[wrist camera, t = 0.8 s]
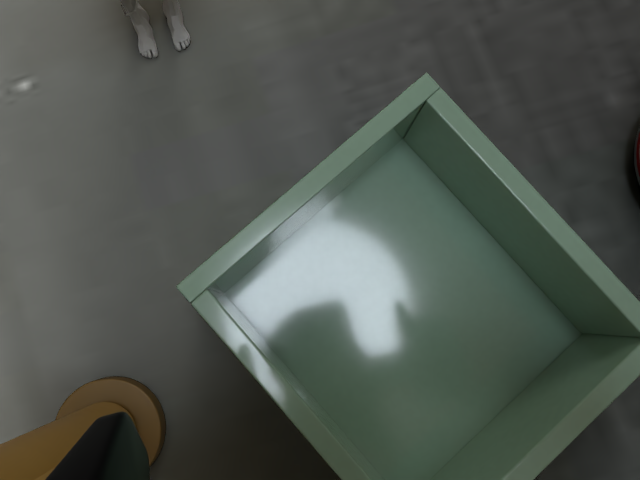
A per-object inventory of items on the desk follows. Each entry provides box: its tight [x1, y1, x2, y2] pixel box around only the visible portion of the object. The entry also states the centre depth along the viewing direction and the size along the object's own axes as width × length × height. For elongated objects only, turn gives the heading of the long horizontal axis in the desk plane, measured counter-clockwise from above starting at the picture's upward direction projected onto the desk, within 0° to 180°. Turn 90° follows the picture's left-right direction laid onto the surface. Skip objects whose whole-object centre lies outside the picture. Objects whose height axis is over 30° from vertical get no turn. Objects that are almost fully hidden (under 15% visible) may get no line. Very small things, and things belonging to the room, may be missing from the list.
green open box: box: [176, 73, 640, 480], centre depth 21 cm, size 12×11×5 cm
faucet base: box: [56, 377, 166, 467], centre depth 22 cm, size 4×4×1 cm
